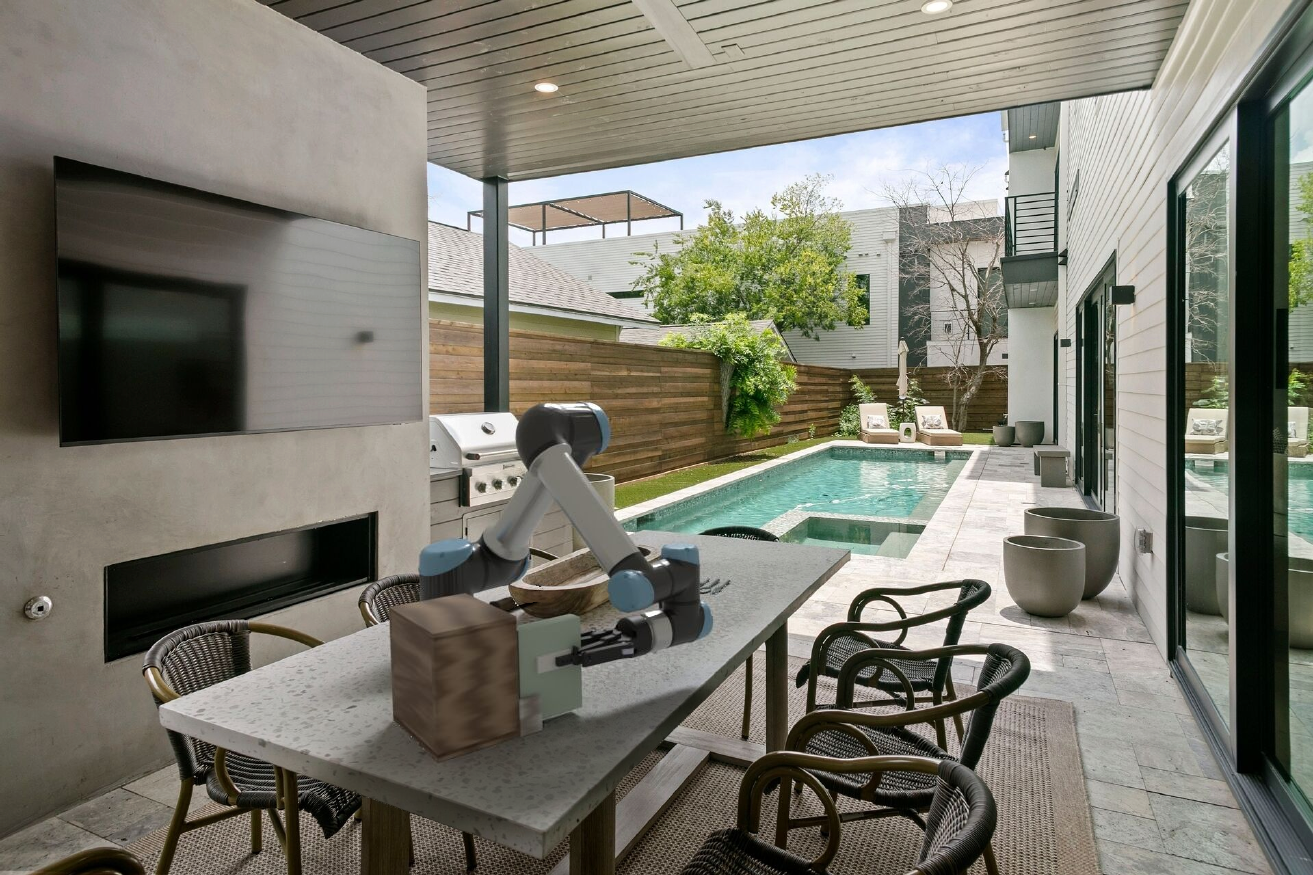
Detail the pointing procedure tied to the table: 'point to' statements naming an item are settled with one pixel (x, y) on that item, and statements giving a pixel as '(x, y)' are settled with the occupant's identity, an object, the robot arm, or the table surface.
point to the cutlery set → (712, 585)
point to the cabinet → (458, 676)
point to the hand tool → (505, 603)
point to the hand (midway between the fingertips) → (531, 662)
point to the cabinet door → (555, 685)
